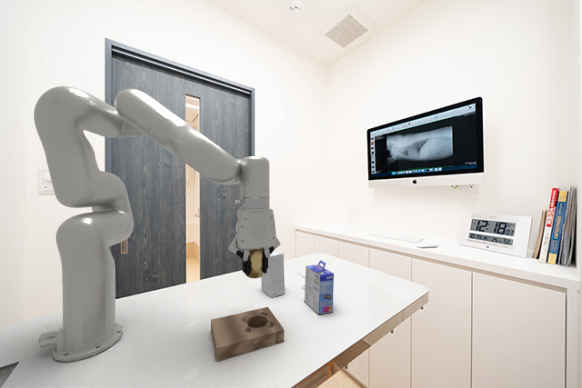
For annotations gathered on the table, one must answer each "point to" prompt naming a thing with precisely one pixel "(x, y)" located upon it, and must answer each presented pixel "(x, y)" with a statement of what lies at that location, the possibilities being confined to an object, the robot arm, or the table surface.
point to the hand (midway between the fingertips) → (255, 272)
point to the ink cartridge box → (319, 288)
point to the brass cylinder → (256, 263)
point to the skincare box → (274, 275)
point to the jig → (245, 333)
